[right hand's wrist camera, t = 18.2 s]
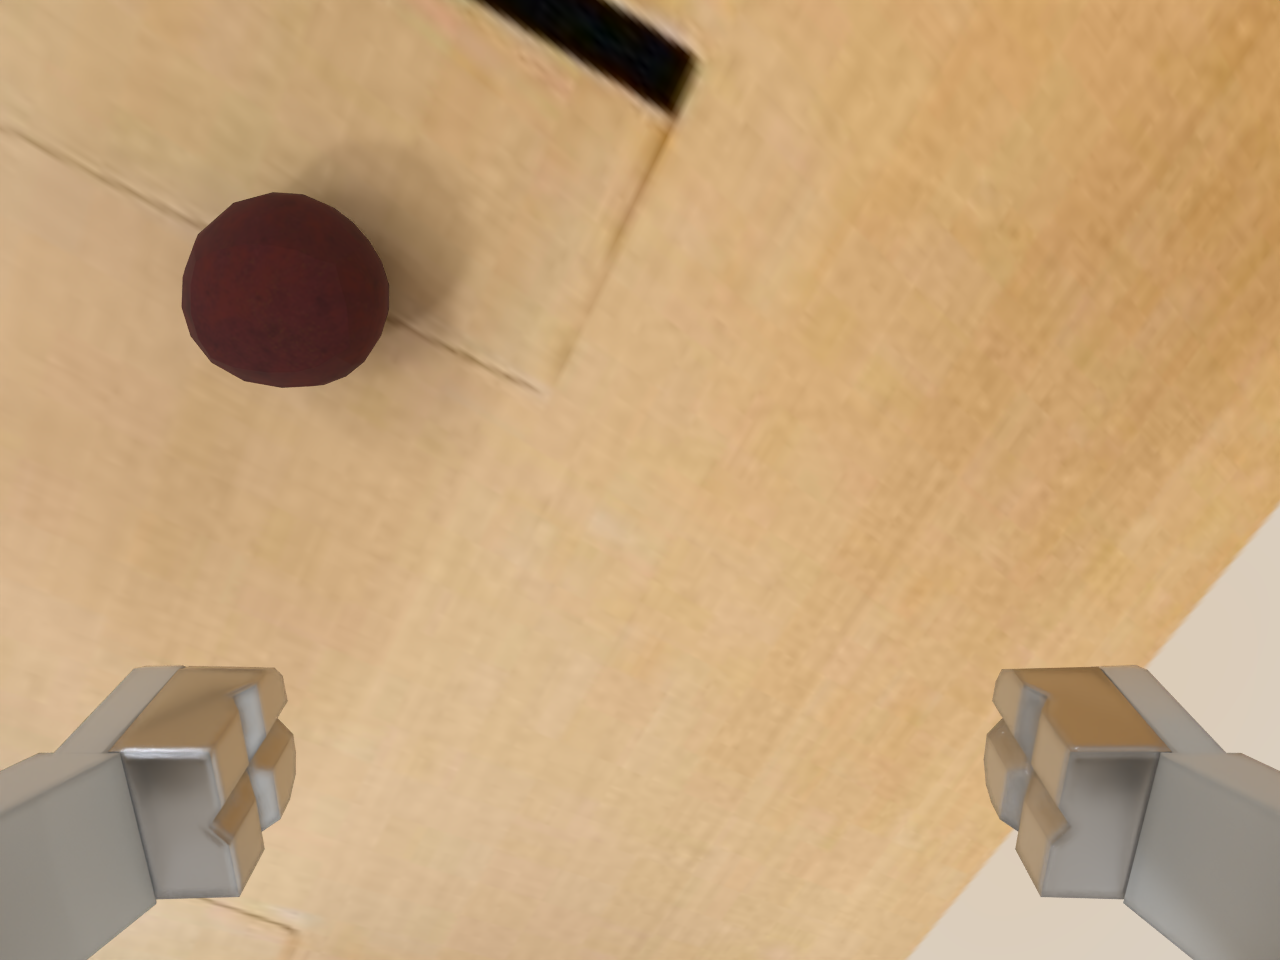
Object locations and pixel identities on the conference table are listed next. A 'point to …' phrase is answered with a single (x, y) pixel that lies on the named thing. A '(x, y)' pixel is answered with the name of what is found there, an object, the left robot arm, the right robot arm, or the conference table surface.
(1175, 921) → the right robot arm
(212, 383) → the conference table surface
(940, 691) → the conference table surface
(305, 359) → the dark red ball
